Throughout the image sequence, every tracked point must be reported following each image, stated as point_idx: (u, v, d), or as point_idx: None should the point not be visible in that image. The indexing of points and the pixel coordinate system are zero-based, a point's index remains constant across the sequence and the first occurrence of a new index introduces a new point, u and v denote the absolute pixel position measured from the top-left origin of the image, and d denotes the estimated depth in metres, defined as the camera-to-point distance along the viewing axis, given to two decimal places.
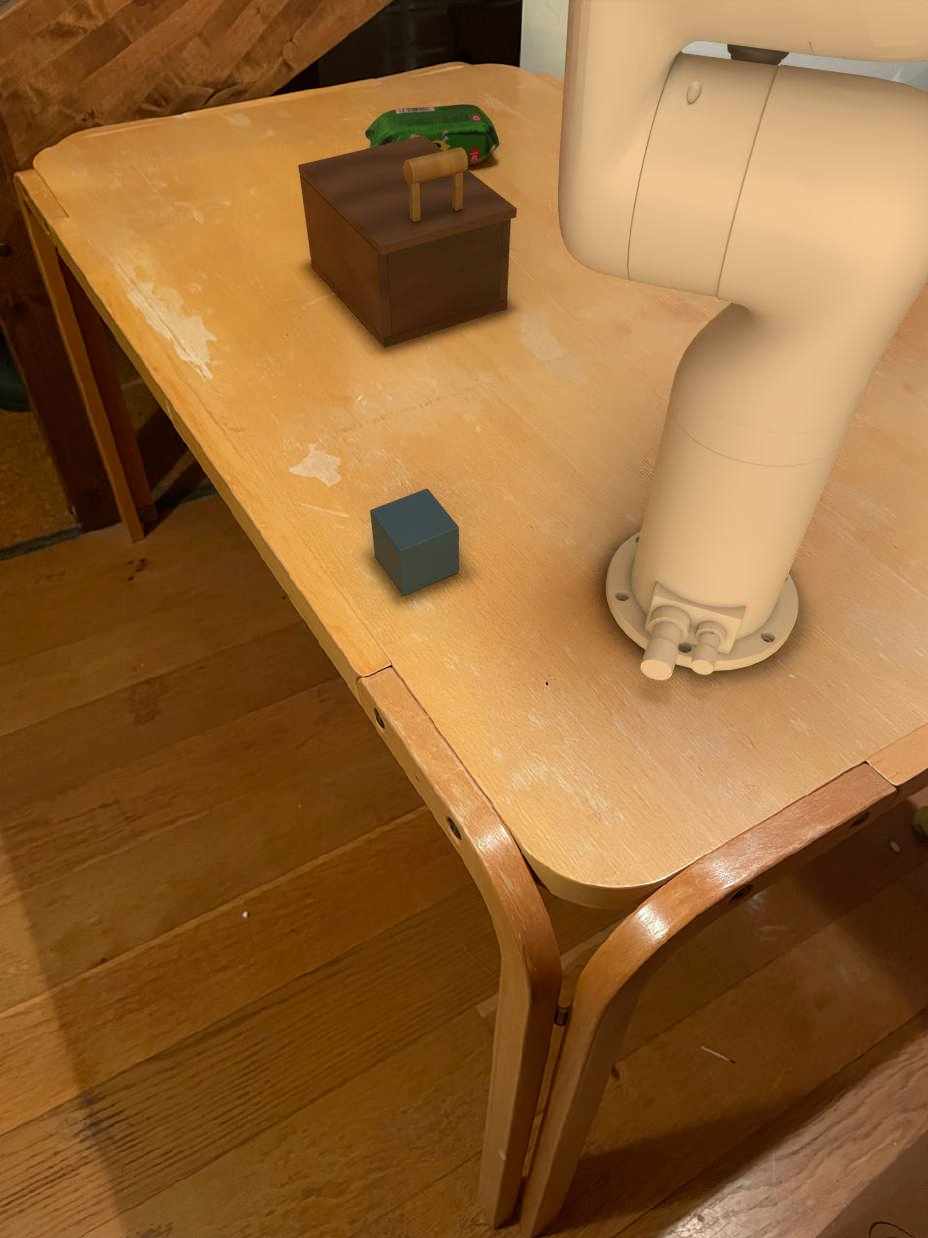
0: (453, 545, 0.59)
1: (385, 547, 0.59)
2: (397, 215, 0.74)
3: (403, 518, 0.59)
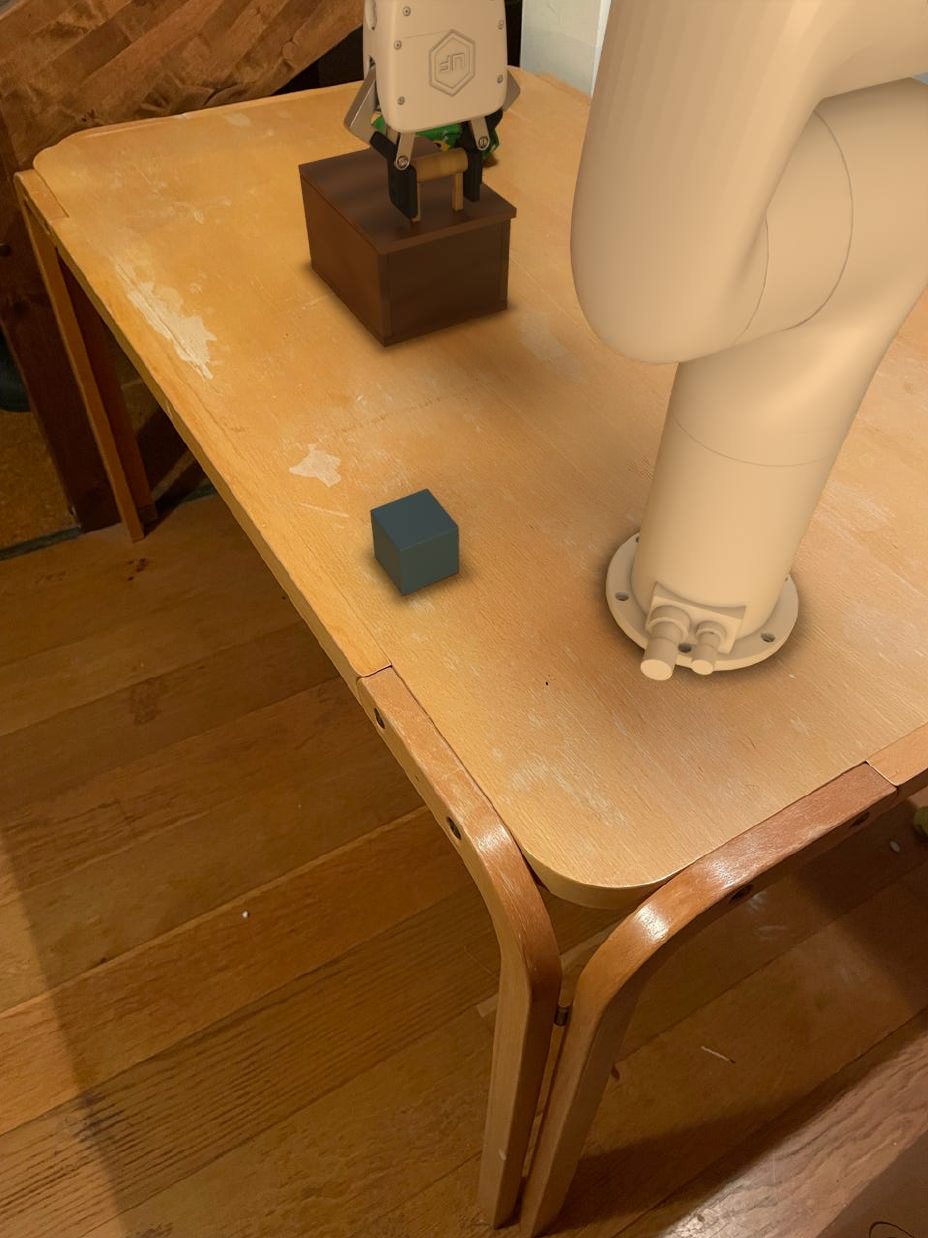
0: (453, 545, 0.59)
1: (385, 547, 0.59)
2: (397, 215, 0.74)
3: (403, 518, 0.59)
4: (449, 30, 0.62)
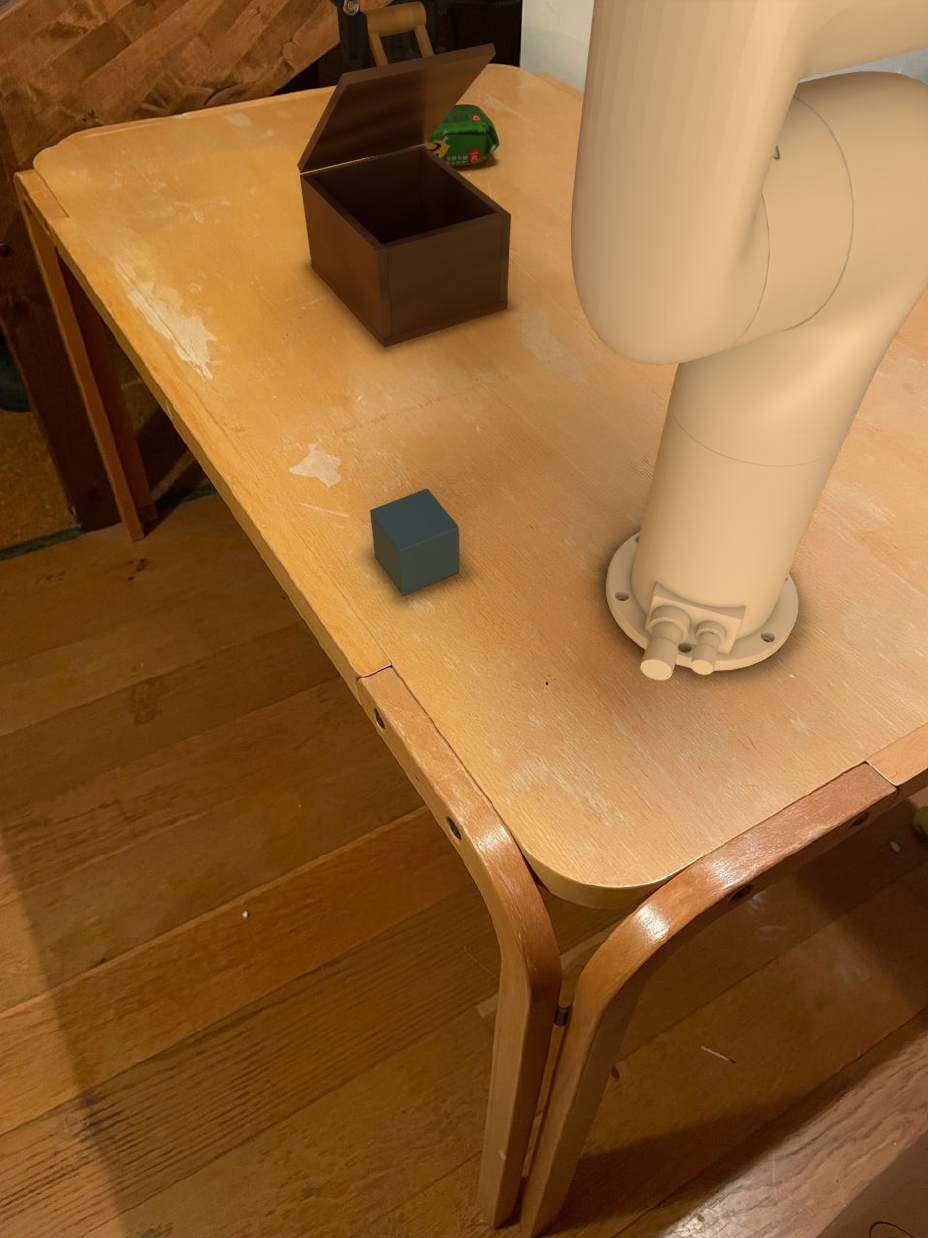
0: (453, 545, 0.59)
1: (385, 547, 0.59)
2: None
3: (403, 518, 0.59)
4: None
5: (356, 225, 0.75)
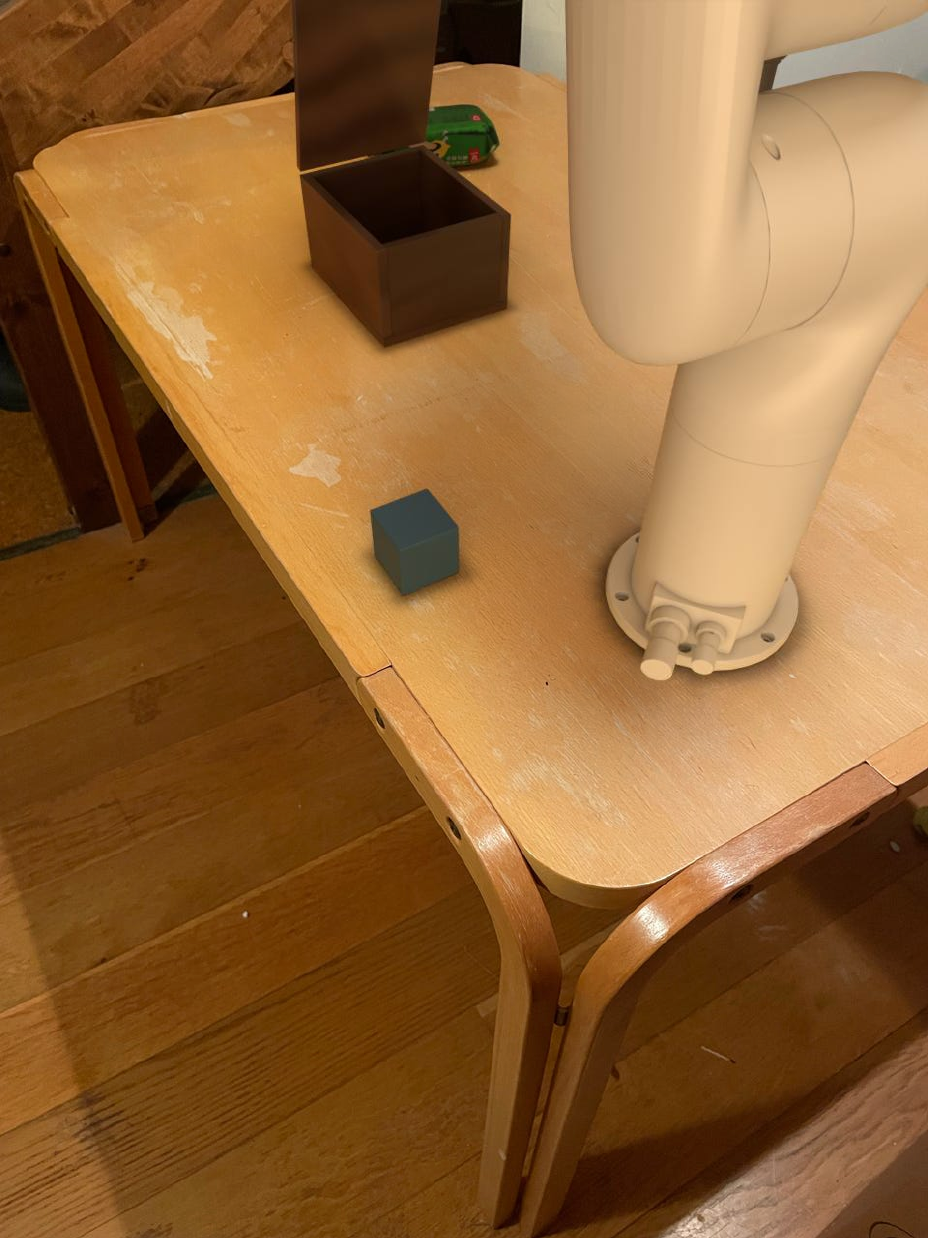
0: (453, 545, 0.59)
1: (385, 547, 0.59)
2: None
3: (403, 518, 0.59)
4: None
5: (356, 225, 0.75)
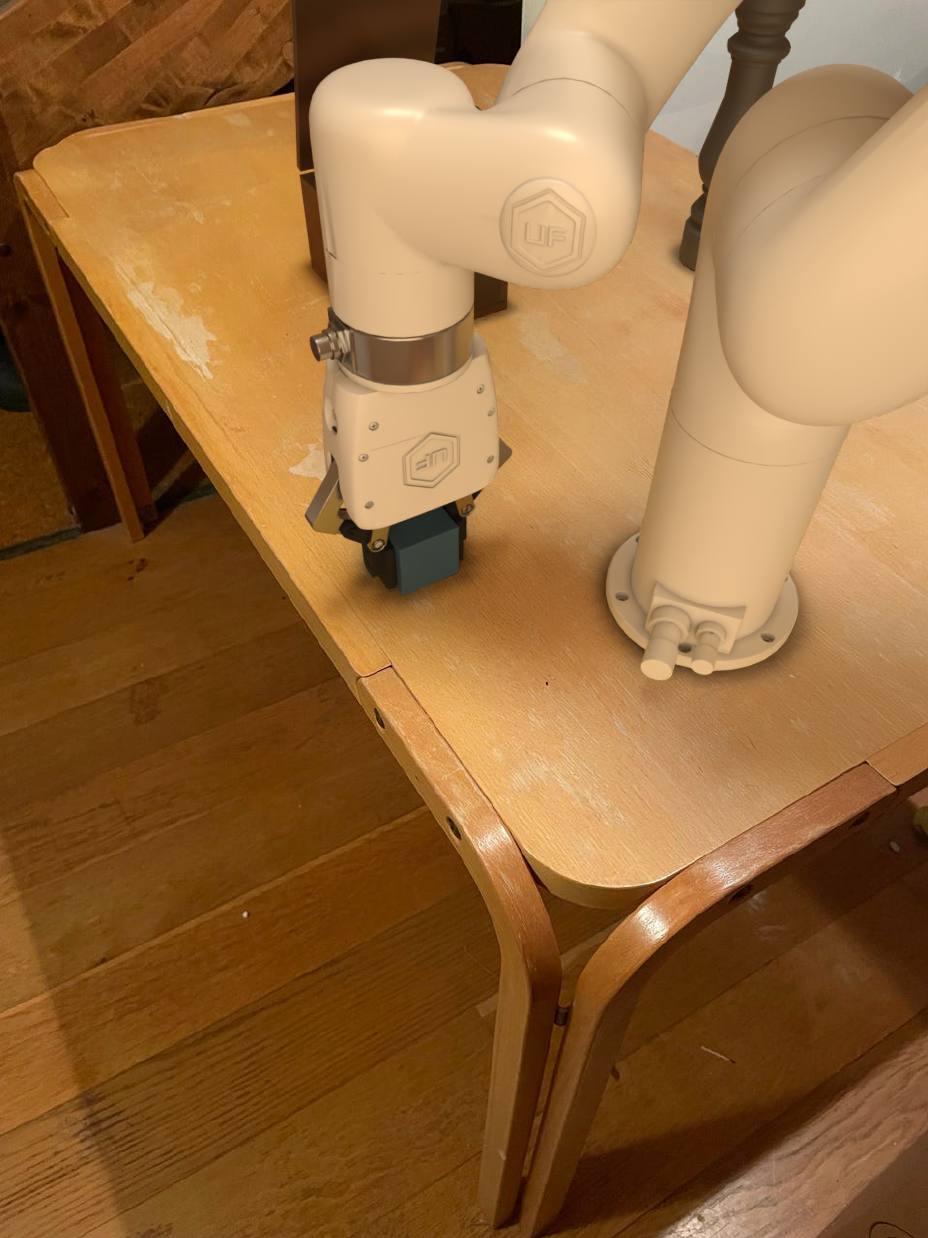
0: (453, 545, 0.59)
1: None
2: None
3: None
4: (427, 432, 0.50)
5: None
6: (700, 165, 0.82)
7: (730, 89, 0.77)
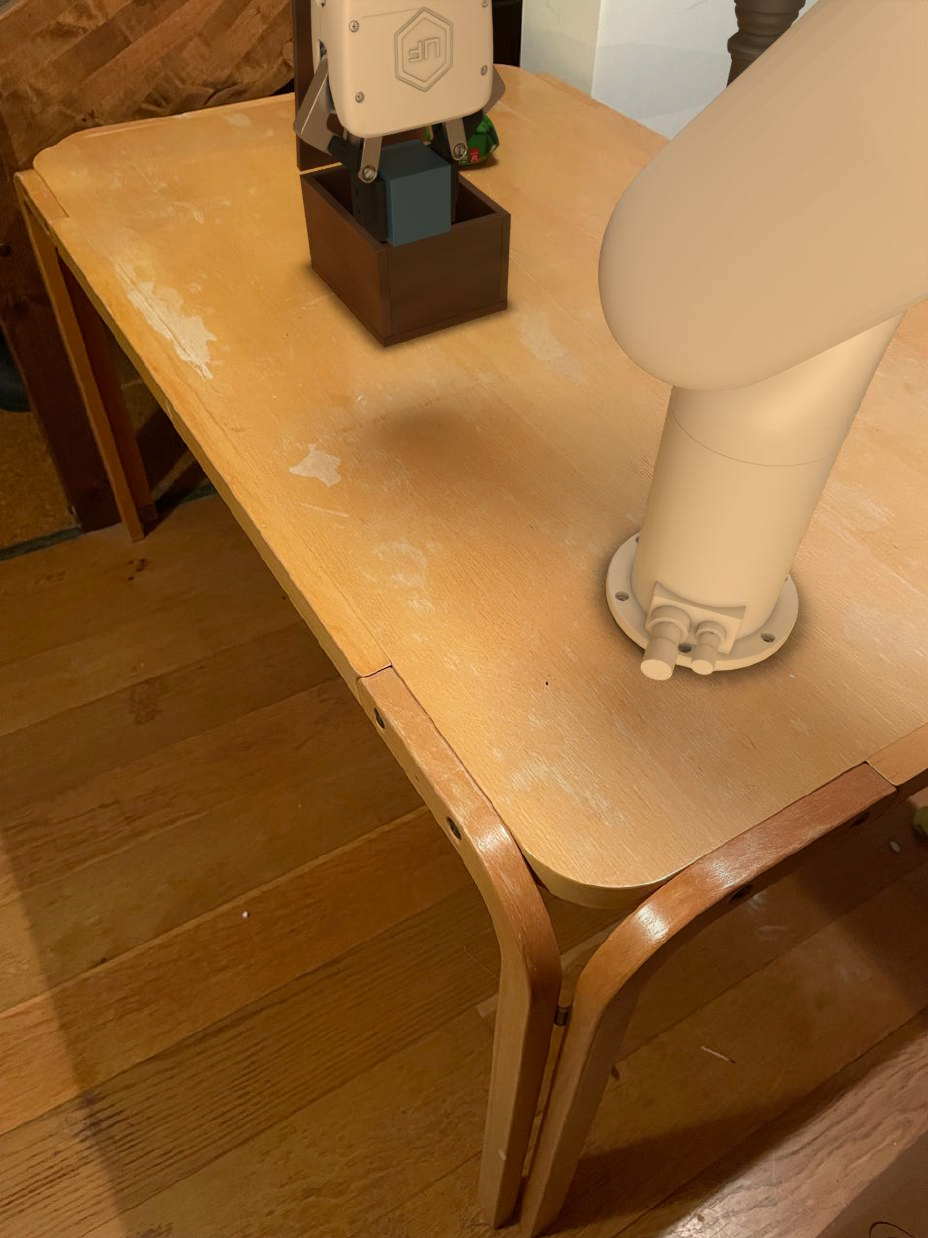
0: (445, 189, 0.58)
1: None
2: None
3: (394, 158, 0.57)
4: (420, 8, 0.49)
5: (356, 225, 0.75)
6: None
7: None
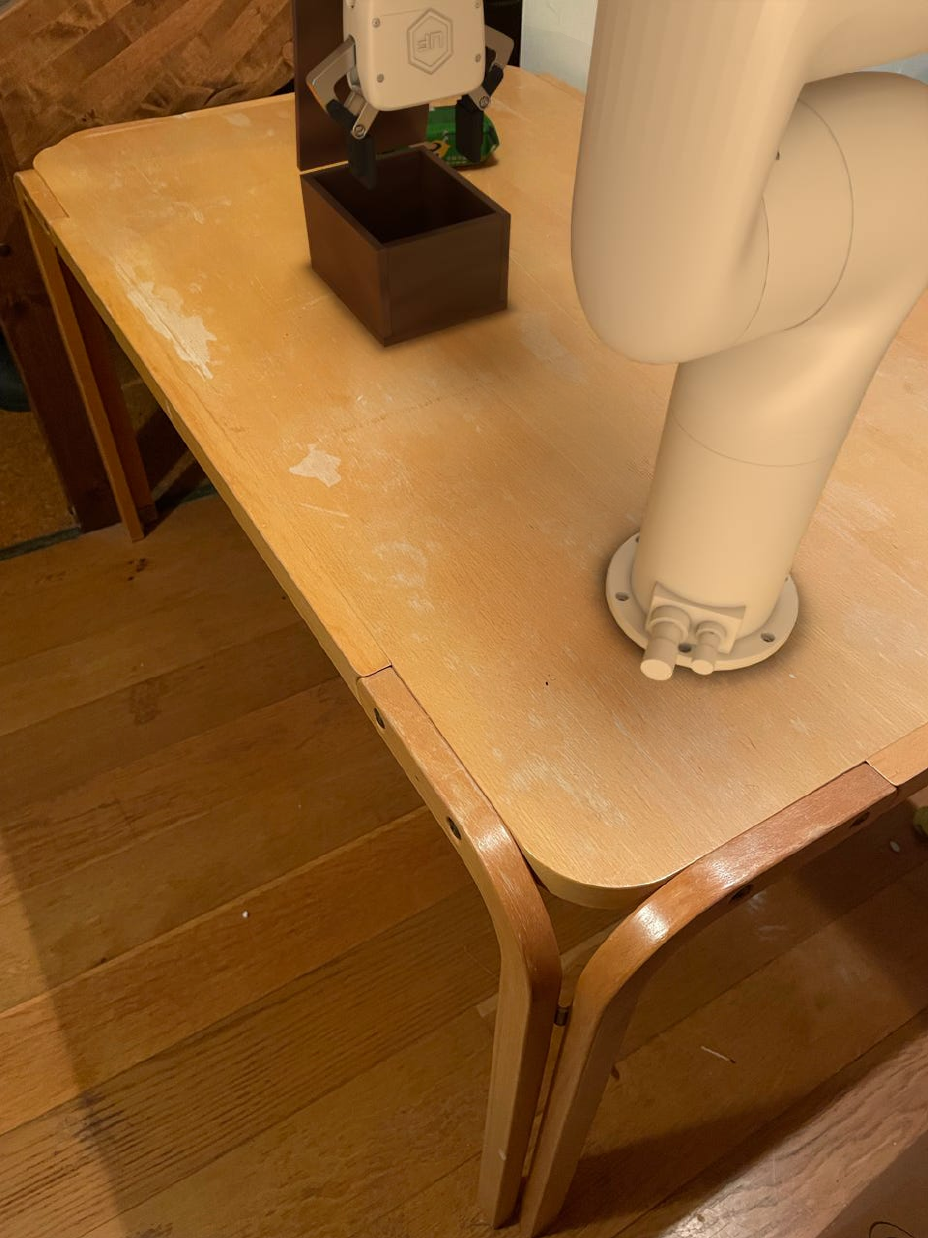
0: None
1: None
2: None
3: None
4: (426, 9, 0.63)
5: (356, 225, 0.75)
6: None
7: None
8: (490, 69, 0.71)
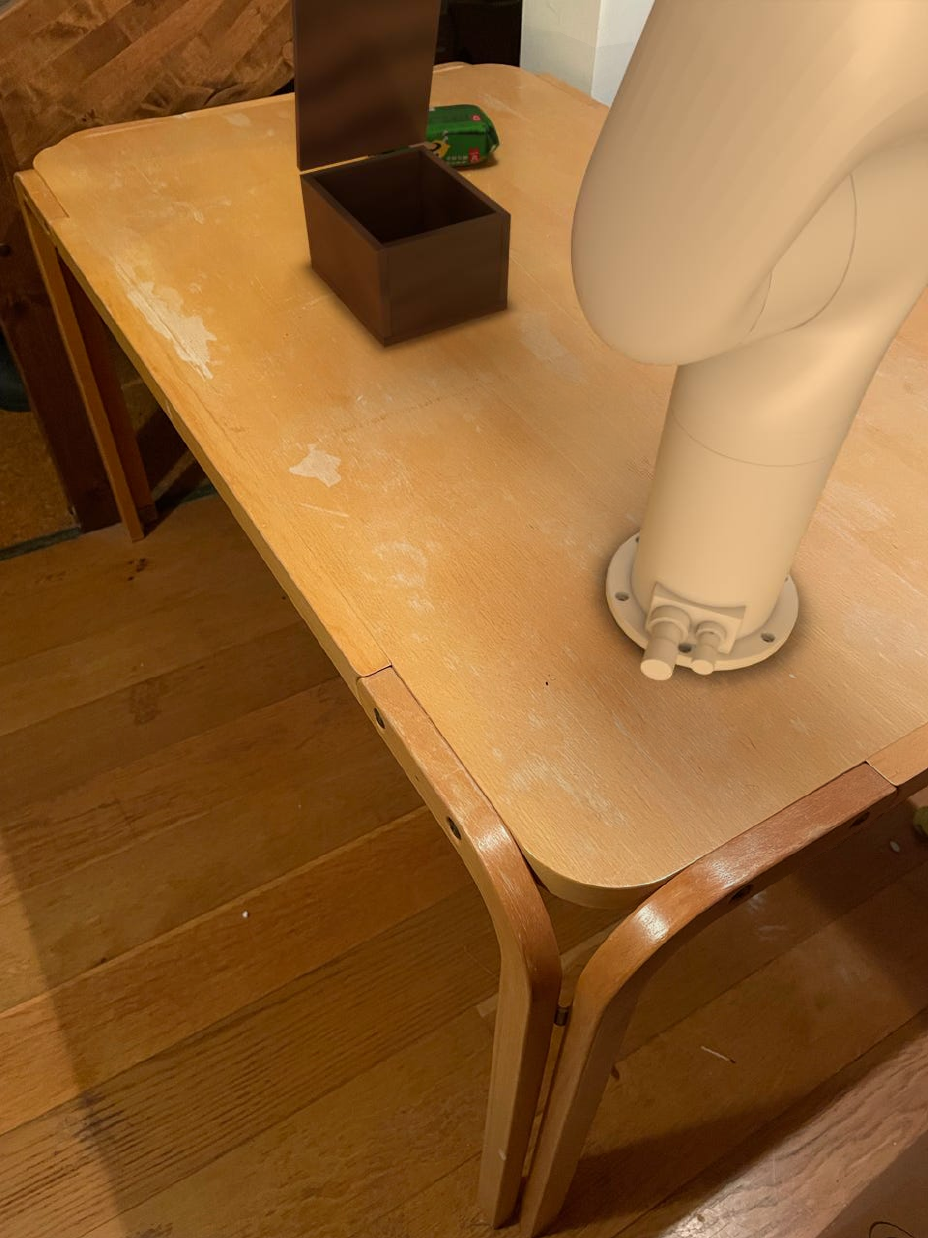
0: None
1: None
2: None
3: None
4: None
5: (356, 225, 0.75)
6: None
7: None
8: None
